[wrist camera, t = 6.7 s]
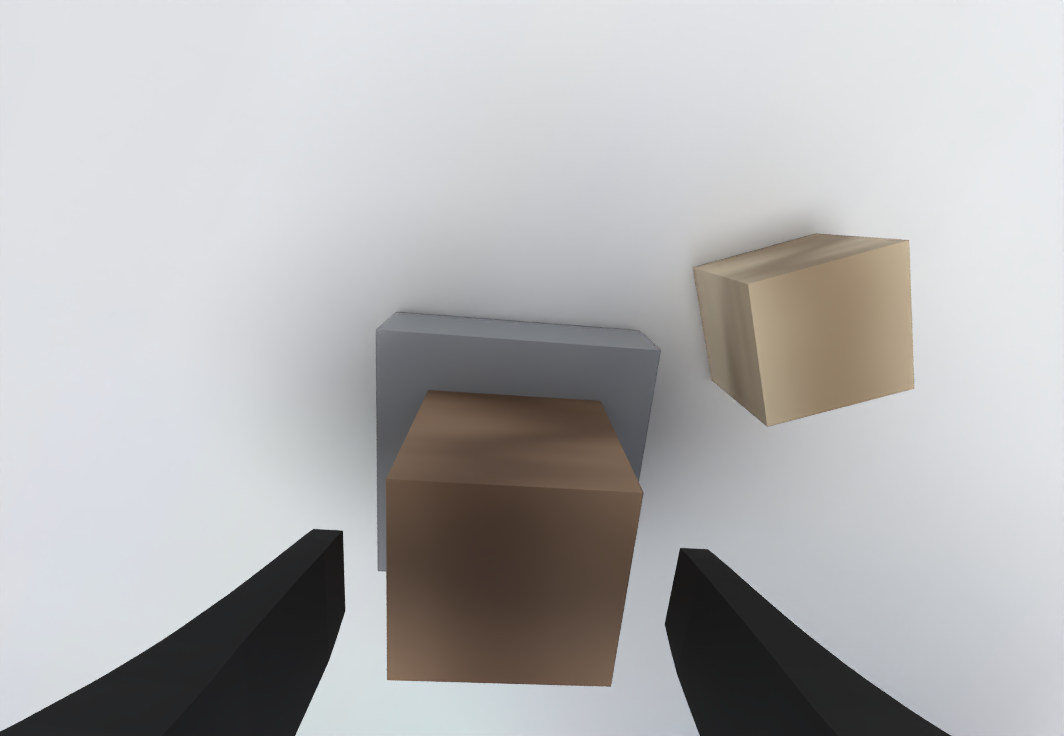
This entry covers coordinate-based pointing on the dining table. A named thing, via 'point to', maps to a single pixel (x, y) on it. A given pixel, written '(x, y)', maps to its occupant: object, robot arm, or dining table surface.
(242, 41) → the dining table surface
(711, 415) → the dining table surface
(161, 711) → the robot arm
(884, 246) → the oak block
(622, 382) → the slate base
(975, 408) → the dining table surface
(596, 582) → the walnut cube
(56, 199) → the dining table surface
